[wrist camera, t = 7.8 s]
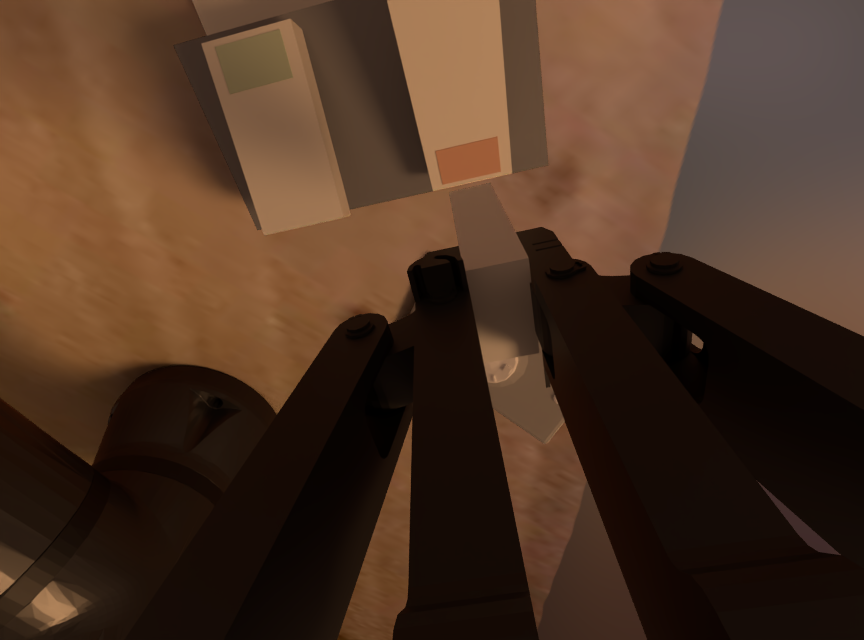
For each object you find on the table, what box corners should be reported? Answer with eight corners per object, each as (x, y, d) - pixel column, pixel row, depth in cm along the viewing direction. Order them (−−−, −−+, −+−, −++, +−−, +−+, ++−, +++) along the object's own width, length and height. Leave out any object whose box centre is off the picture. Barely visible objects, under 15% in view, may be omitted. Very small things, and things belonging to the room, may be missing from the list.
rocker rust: (431, 175, 25) (433, 191, 24) (386, -11, 18) (386, 1, 17) (506, 157, 25) (512, 173, 24) (490, -40, 18) (497, -30, 17)
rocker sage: (275, 231, 24) (263, 235, 23) (218, 52, 22) (200, 43, 20) (351, 215, 24) (343, 217, 22) (302, 29, 21) (289, 17, 20)
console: (280, 205, 31) (250, 237, 26) (189, -17, 25) (124, -33, 19) (531, 147, 29) (553, 170, 24) (506, -111, 23) (529, -158, 17)
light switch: (429, 258, 32) (608, 370, 29) (460, 245, 37) (616, 339, 34) (390, 346, 36) (543, 453, 33) (422, 323, 41) (558, 414, 38)
